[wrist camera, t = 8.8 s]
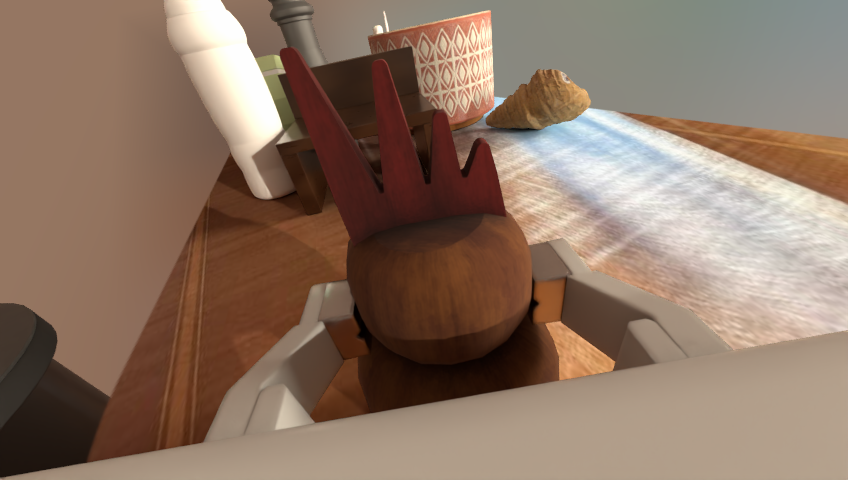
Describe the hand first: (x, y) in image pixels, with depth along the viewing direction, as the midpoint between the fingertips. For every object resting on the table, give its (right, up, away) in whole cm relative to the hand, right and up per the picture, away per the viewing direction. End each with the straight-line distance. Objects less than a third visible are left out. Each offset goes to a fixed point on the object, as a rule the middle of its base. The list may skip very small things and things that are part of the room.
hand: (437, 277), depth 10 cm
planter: (+3, +23, +46) cm, 52 cm away
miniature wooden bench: (-7, +9, +29) cm, 31 cm away
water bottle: (-20, +8, +32) cm, 39 cm away
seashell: (+16, +17, +34) cm, 42 cm away
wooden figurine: (+2, -7, +4) cm, 9 cm away
